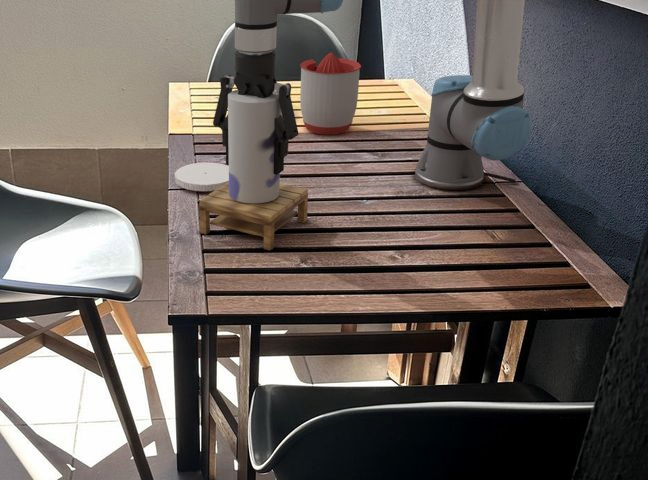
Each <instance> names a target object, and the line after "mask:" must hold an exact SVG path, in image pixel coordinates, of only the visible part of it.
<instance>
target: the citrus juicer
mask: <svg viewBox="0 0 648 480" xmlns="http://www.w3.org/2000/svg"><path fill="white" fill-rule="evenodd" d="M361 68H362V65H361V64H360V63H359V62H358V61H356V60H351V59H347V58H340V57H337V56H336V55H335V54H334V53H333V52H329V53H328V54H326V56H325V57H324V58H323V59H322V60H321V61H320V62H319V63H318V66H317V62H316V61H315V60H314V59H306V60H304V61H302V62H301V63H300V93H299V94H300V96H299V99H300V102H299V103H300V104H299V105H300V112H301V117H302V122H303V124H304V126H305V129H306V130H307V131H309V132H311V133H314V134H316V135H338V134H344V133H346V132H347V131H349V129H350V128H351V126H352V124H353V121H354V117H355V114H356V110H357V106H358V98H359V87H360V86H359V85H360V71H361Z"/></svg>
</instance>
